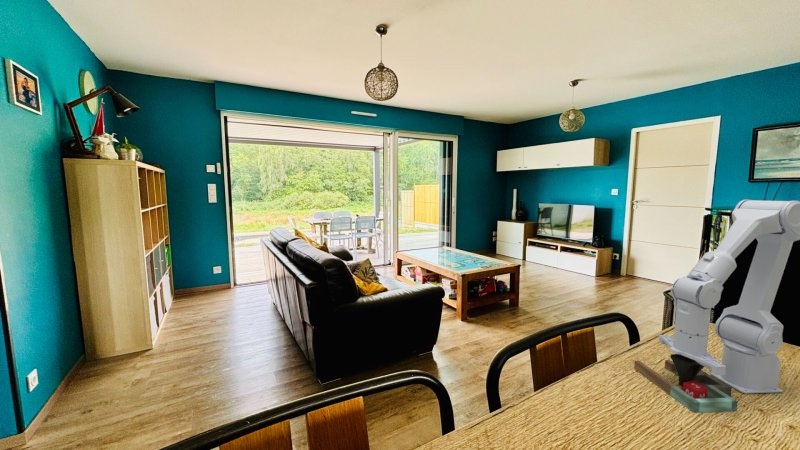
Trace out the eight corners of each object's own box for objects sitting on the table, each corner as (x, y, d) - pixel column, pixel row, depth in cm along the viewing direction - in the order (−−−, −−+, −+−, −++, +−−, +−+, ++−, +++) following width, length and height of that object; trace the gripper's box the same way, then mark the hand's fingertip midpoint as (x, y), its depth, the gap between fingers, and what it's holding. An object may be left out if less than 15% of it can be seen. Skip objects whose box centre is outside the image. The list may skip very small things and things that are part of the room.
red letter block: (681, 394, 74) (683, 382, 73) (691, 392, 75) (693, 380, 74) (696, 403, 71) (698, 390, 71) (706, 400, 72) (708, 388, 71)
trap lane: (682, 367, 85) (683, 359, 85) (753, 410, 69) (754, 400, 68) (634, 368, 85) (634, 360, 85) (693, 412, 68) (694, 402, 68)
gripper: (648, 318, 81) (644, 369, 82) (704, 346, 66) (698, 408, 68) (676, 317, 81) (671, 369, 82) (738, 345, 66) (731, 407, 68)
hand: (685, 386), depth 75 cm, fingers closed, pressing on red letter block
